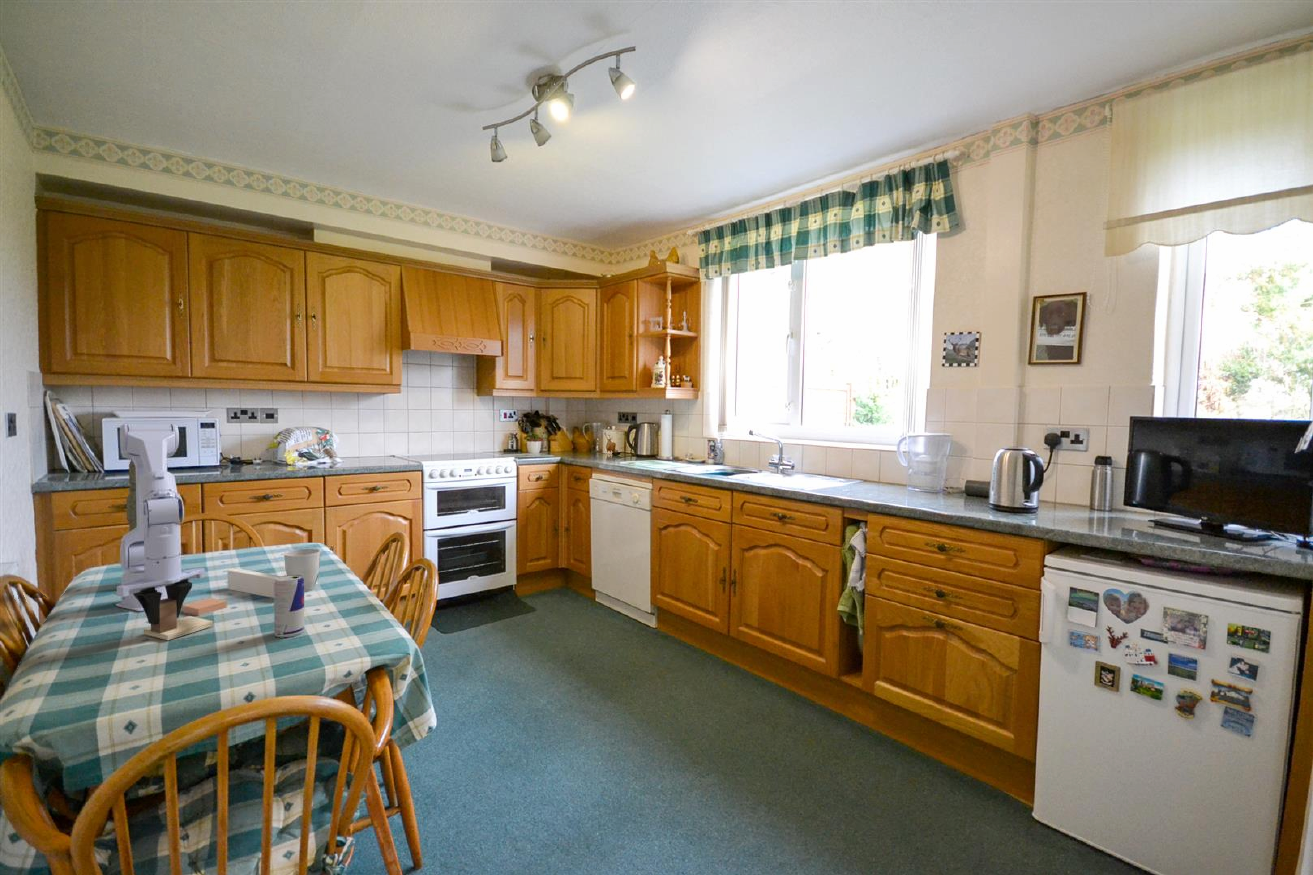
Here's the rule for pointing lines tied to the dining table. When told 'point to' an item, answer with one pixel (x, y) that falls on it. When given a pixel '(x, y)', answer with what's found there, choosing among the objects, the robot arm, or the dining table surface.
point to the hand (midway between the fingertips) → (163, 620)
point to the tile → (204, 606)
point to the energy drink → (288, 605)
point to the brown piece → (174, 622)
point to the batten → (251, 582)
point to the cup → (304, 565)
